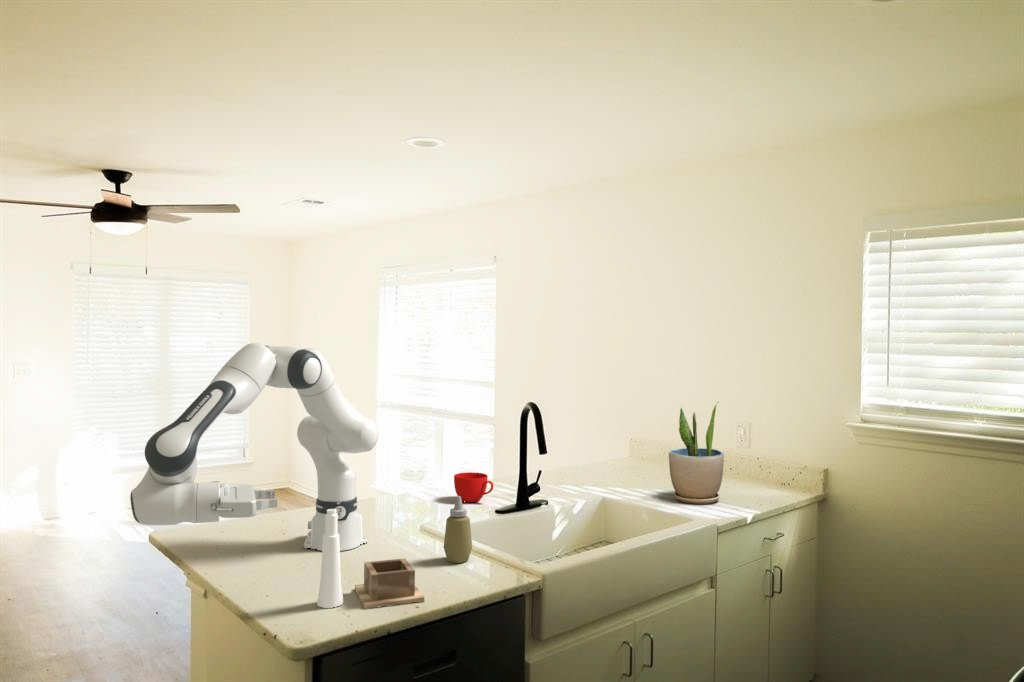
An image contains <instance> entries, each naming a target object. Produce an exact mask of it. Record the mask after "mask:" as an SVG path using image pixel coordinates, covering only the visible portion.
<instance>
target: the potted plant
mask: <svg viewBox="0 0 1024 682" xmlns="http://www.w3.org/2000/svg"><path fill="white" fill-rule="evenodd" d="M719 403H720V401H717V402H716V404H715V405H714V406H713V409H712V413H711V417H710V420H709V425H708V426H707V430H706V434H705V444H706V448H705V447H704V448H703V447H698V446H699V445H698V433H697V421H696V420H697V417H696V411H693V414H692V429H691V428H690V425H689V422H688V419H687V418H686V415H685V412H684V410H683V408H682V407H680V410H679V419H678V424H679V426H678V432H679V436H680V439H681V441H682V442H683V444H684V446H685V447H681V448H673V449H670V450H669V451H668V462H669V465H668V466H669V473H670V480H671V483H672V487H673V489H674V491H675V492H674V493H673V497H674V498H675V499H676V500H677V501H679V502H682V503H687V504H696V505H697V504H698V505H699V504H700V505H701V504H703V505H705V504H713V503H716V502H717V501H718V500H719V499H720V494H719V491H720V489H721V486H722V481H723V474H724V463H725V462H724V460H725V459H724V457H725V456H724V452H723V451H721V450H719V449H717V448H716V449H715V448H712V447H713V437H714V429H715V417H716V409H717V405H718V404H719Z"/></svg>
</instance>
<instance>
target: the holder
mask: <svg viewBox="0 0 1024 682" xmlns="http://www.w3.org/2000/svg"><path fill="white" fill-rule="evenodd" d="M363 565H364V567H363V569H364V570H363V584H362V583H361V584H354V590H355V589H356V590H355V592H356V591H357V592H356V594H357V593H358V594H357V596H358V595H359V596H358V598H359V597H360V598H359V600H360V599H361V600H360V602H361V601H362V602H361V604H362V603H363V604H362V606H363V605H364V606H363V608H364V607H365V608H370V609H374V608H373V607H378V606H386V607H388V606H387V605H394V606H398V605H397V604H402V605H406V604H405V603H410V604H412V603H411V602H418V603H423V602H422V601H424V602H425V597H424V595H423V594H422V592H421V591H420V590H419V589H418V587H417V586H416V585H415V584H416V571H415V569H414V567H413V566H412V565H411V563H409V561H408V560H407V559H406V558H395V559H394V558H393V559H386V560H385V559H384V560H375V561H373V560H372V561H366V562H365V561H364V564H363ZM365 608H364V609H365ZM378 608H379V607H378Z"/></svg>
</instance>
